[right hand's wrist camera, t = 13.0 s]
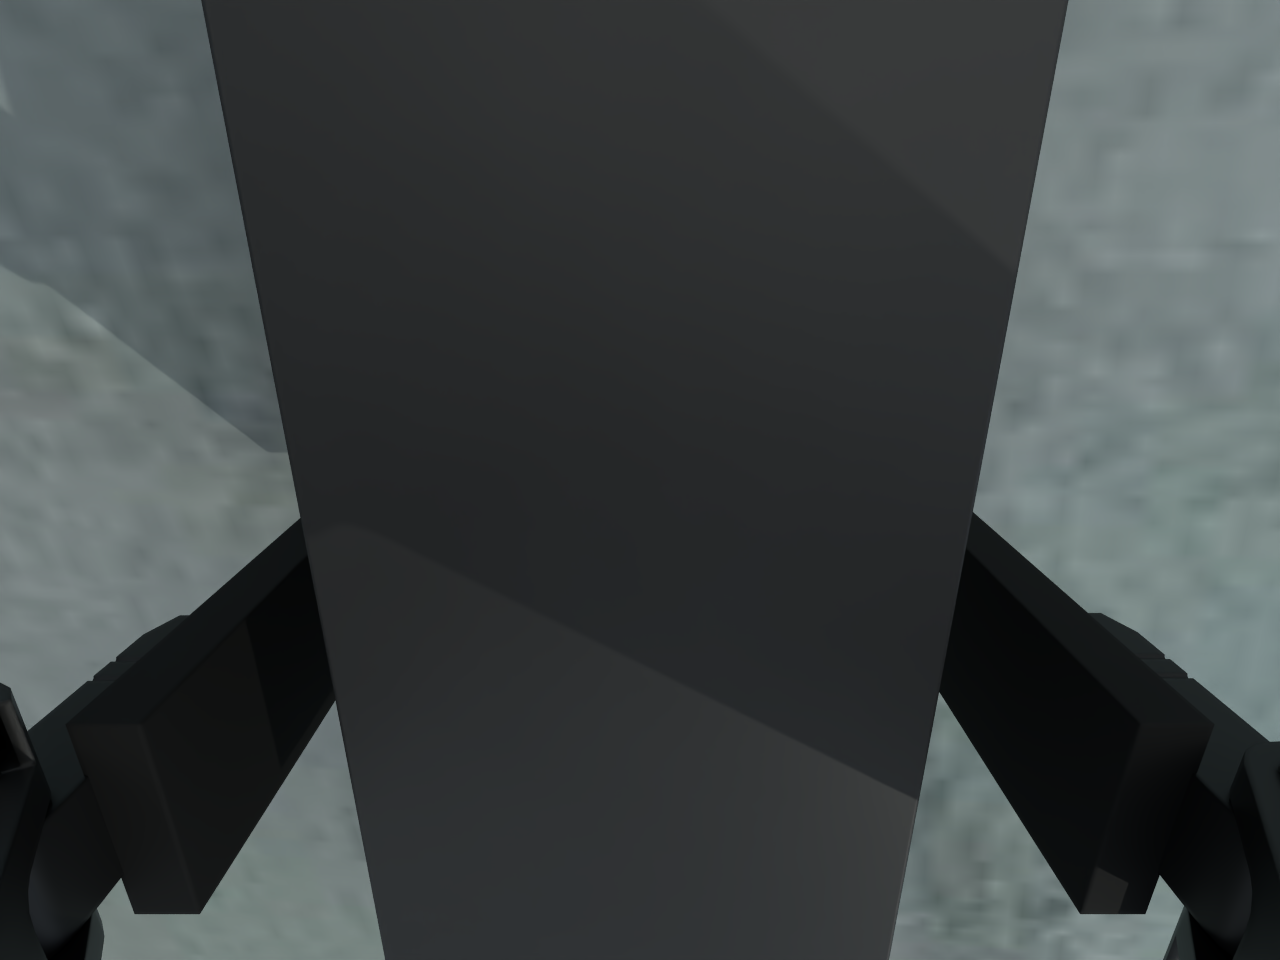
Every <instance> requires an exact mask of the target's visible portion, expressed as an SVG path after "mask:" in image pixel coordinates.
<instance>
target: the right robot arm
mask: <svg viewBox="0 0 1280 960" xmlns="http://www.w3.org/2000/svg"><path fill="white" fill-rule="evenodd" d="M939 692H940V694H941V695H942V697H943V698H944V700H945V702H946V703H947V705H948V706H949V708H950V709H951V711H952V713H953V714H954V716H955V717H956V719H957V721H958V722H959V724H960V725H961V727H962V728H963V730H964V732H965V733H966V735H967V736H968V738H969V739H970V741H971V743H972V744H973V746H974V747H975V749H976V750H977V752H978V754H979V755H980V757H981V758H982V760H983V761H984V763H985V765H986V766H987V768H988V769H989V771H990V773H991V774H992V776H993V777H994V779H995V780H996V782H997V784H998V785H999V787H1000V788H1001V790H1002V791H1003V793H1004V795H1005V796H1006V798H1007V799H1008V801H1009V802H1010V804H1011V806H1012V807H1013V809H1014V810H1015V812H1016V814H1017V815H1018V817H1019V818H1020V820H1021V821H1022V823H1023V825H1024V826H1025V828H1026V829H1027V831H1028V832H1029V834H1030V836H1031V837H1032V839H1033V840H1034V842H1035V843H1036V845H1037V847H1038V848H1039V850H1040V851H1041V853H1042V855H1043V856H1044V858H1045V859H1046V861H1047V862H1048V864H1049V866H1050V867H1051V869H1052V870H1053V872H1054V873H1055V875H1056V877H1057V878H1058V880H1059V881H1060V883H1061V884H1062V886H1063V888H1064V889H1065V891H1066V892H1067V894H1068V896H1069V897H1070V899H1071V900H1072V902H1073V903H1074V905H1075V907H1076V908H1077V910H1078V911H1079V913H1080V914H1146V911H1147V908H1148V905H1149V903H1150V900H1151V897H1152V894H1153V892H1154V889H1155V886H1156V884H1157V881H1158V878H1159V875H1160V876H1161V877H1162V878H1163V879H1164V881H1165V882H1166V883H1167V885H1168V886H1169V887H1170V888H1171V890H1172V891H1173V892H1174V893H1175V895H1176V896H1177V897H1178V898H1179V900H1180V901H1181V902H1182V903H1183V905H1184V908H1183V910H1182V913H1181V915H1180V918H1179V921H1178V923H1177V926H1176V928H1175V931H1174V933H1173V936H1172V938H1171V941H1170V944H1169V946H1168V949H1167V951H1166V954H1165V956H1164V959H1163V960H1280V742H1269V741H1268V740H1267V739H1266V738H1265V737H1263V736H1262V735H1261V734H1260V733H1258V732H1257V731H1256V730H1255V729H1254V728H1252V727H1251V726H1250V725H1249V724H1248V723H1246V722H1245V721H1244V720H1243V719H1242V718H1240V717H1239V716H1238V715H1237V714H1236V713H1234V712H1233V711H1232V710H1231V709H1230V708H1228V707H1227V706H1226V705H1225V704H1223V703H1222V702H1221V701H1220V700H1219V699H1217V698H1216V697H1215V696H1214V695H1213V694H1211V693H1210V692H1209V691H1208V690H1207V689H1205V688H1204V687H1203V686H1202V685H1201V684H1199V683H1198V682H1197V681H1196V680H1195V679H1193V678H1188V677H1187V673H1186V672H1185V671H1184V670H1182V669H1181V668H1180V667H1179V666H1178V665H1176V664H1175V663H1174V662H1173V661H1172V660H1170V659H1165V657H1164V654H1163V653H1162V652H1161V651H1160V650H1158V649H1157V648H1156V647H1155V646H1154V645H1152V644H1151V643H1150V642H1149V641H1147V640H1146V639H1145V638H1144V637H1143V636H1141V635H1140V634H1139V633H1138V632H1136V631H1134V630H1132V629H1130V628H1128V627H1127V626H1125V625H1123V624H1121V623H1119V622H1117V621H1115V620H1113V619H1111V618H1109V617H1107V616H1105V615H1104V614H1102V613H1087V612H1086V611H1085V610H1084V609H1083V608H1082V607H1080V606H1079V605H1078V604H1077V603H1076V602H1075V601H1074V600H1072V599H1071V598H1070V597H1069V596H1068V595H1067V594H1066V593H1064V592H1063V591H1062V590H1061V589H1060V588H1059V587H1058V586H1057V585H1055V584H1054V583H1053V582H1052V581H1051V580H1050V579H1049V578H1047V577H1046V576H1045V575H1044V574H1043V573H1042V572H1041V571H1039V570H1038V569H1037V568H1036V567H1035V566H1034V565H1033V564H1031V563H1030V562H1029V561H1028V560H1027V559H1026V558H1025V557H1023V556H1022V555H1021V554H1020V553H1019V552H1018V551H1017V550H1016V549H1014V548H1013V547H1012V546H1011V545H1010V544H1009V543H1008V542H1006V541H1005V540H1004V539H1003V538H1002V537H1001V536H1000V535H998V534H997V533H996V532H995V531H994V530H993V529H992V528H990V527H989V526H988V525H987V524H986V523H985V522H984V521H982V520H981V519H980V518H979V517H978V516H977V515H976V514H974V513H972V518H971V523H970V529H969V534H968V539H967V545H966V550H965V555H964V561H963V566H962V571H961V577H960V582H959V588H958V593H957V598H956V604H955V609H954V614H953V620H952V625H951V630H950V636H949V641H948V646H947V652H946V657H945V662H944V668H943V673H942V678H941V684H940V689H939ZM334 702H335V694H334V689H333V684H332V679H331V674H330V668H329V663H328V658H327V653H326V647H325V642H324V637H323V632H322V627H321V621H320V616H319V611H318V606H317V601H316V595H315V590H314V585H313V580H312V575H311V569H310V564H309V559H308V554H307V548H306V543H305V538H304V533H303V528H302V522H301V518H300V519H299V520H298V521H296V522H295V523H294V524H293V525H292V526H291V527H290V528H288V529H287V530H286V531H285V532H284V533H283V534H282V535H280V536H279V537H278V538H277V539H276V540H275V541H274V542H272V543H271V544H270V545H269V546H268V547H267V548H266V549H265V550H263V551H262V552H261V553H260V554H259V555H258V556H257V557H255V558H254V559H253V560H252V561H251V562H250V563H249V564H247V565H246V566H245V567H244V568H243V569H242V570H241V571H239V572H238V573H237V574H236V575H235V576H234V577H233V578H231V579H230V580H229V581H228V582H227V583H226V584H225V585H223V586H222V587H221V588H220V589H219V590H218V591H217V592H216V593H214V594H213V595H212V596H211V597H210V598H209V599H208V600H206V601H205V602H204V603H203V604H202V605H201V606H200V607H198V608H197V609H196V610H195V611H194V612H193V613H192V614H190V615H180V616H178V617H176V618H174V619H172V620H170V621H168V622H166V623H164V624H163V625H161V626H159V627H157V628H155V629H153V630H151V631H149V632H147V633H145V634H144V635H142V636H141V637H140V638H139V639H137V640H136V641H135V642H134V643H133V644H131V645H130V646H129V647H128V648H127V649H125V650H124V651H123V652H122V653H121V654H119V655H118V656H117V657H116V661H115V662H110V663H109V664H108V665H106V666H105V667H104V668H103V669H102V670H100V671H99V672H98V673H97V674H96V675H94V679H93V681H87V682H86V683H85V684H84V685H82V686H81V687H80V688H79V689H78V690H76V691H75V692H74V693H73V694H72V695H70V696H69V697H68V698H67V699H66V700H64V701H63V702H62V703H61V704H60V705H58V706H57V707H56V708H55V709H54V710H52V711H51V712H50V713H49V714H48V715H46V716H45V717H44V718H43V719H42V720H40V721H39V722H38V723H37V724H36V725H34V726H33V727H32V728H31V729H30V730H28V731H27V729H26V727H25V724H24V722H23V719H22V716H21V714H20V711H19V709H18V706H17V704H16V701H15V699H14V696H13V693H12V691H11V688H9V687H8V686H6V685H4V684H2V683H0V960H101V957H102V950H103V943H104V931H103V926H102V921H101V918H100V915H99V913H98V910H97V907H98V906H99V905H100V904H101V902H102V901H103V900H104V899H105V897H106V896H107V895H108V893H109V892H110V891H111V890H112V888H113V887H114V886H115V885H116V883H117V882H118V881H119V880H120V878H122V881H123V883H124V886H125V889H126V892H127V894H128V897H129V900H130V903H131V905H132V908H133V911H134V914H200V913H201V911H202V910H203V908H204V907H205V905H206V903H207V902H208V900H209V899H210V897H211V896H212V894H213V892H214V891H215V889H216V888H217V886H218V885H219V883H220V881H221V880H222V878H223V877H224V875H225V873H226V872H227V870H228V869H229V867H230V866H231V864H232V862H233V861H234V859H235V858H236V856H237V855H238V853H239V851H240V850H241V848H242V847H243V845H244V844H245V842H246V840H247V839H248V837H249V836H250V834H251V832H252V831H253V829H254V828H255V826H256V825H257V823H258V821H259V820H260V818H261V817H262V815H263V814H264V812H265V810H266V809H267V807H268V806H269V804H270V803H271V801H272V799H273V798H274V796H275V795H276V793H277V791H278V790H279V788H280V787H281V785H282V784H283V782H284V780H285V779H286V777H287V776H288V774H289V773H290V771H291V769H292V768H293V766H294V765H295V763H296V762H297V760H298V758H299V757H300V755H301V754H302V752H303V750H304V749H305V747H306V746H307V744H308V743H309V741H310V739H311V738H312V736H313V735H314V733H315V732H316V730H317V728H318V727H319V725H320V724H321V722H322V721H323V719H324V717H325V716H326V714H327V713H328V711H329V709H330V708H331V706H332V705H333V703H334Z"/></svg>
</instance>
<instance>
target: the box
mask: <svg viewBox="0 0 1280 960" xmlns="http://www.w3.org/2000/svg"><path fill="white" fill-rule="evenodd" d="M201 1H202V6H203V11H204V17H205V22H206V27H207V32H208V37H209V43H210V48H211V53H212V58H213V64H214V69H215V74H216V79H217V84H218V90H219V95H220V100H221V105H222V110H223V116H224V121H225V126H226V131H227V136H228V142H229V147H230V152H231V157H232V163H233V168H234V173H235V178H236V183H237V189H238V194H239V199H240V204H241V210H242V215H243V220H244V225H245V230H246V236H247V241H248V246H249V251H250V256H251V262H252V267H253V272H254V277H255V282H256V288H257V293H258V298H259V303H260V309H261V314H262V319H263V324H264V329H265V335H266V340H267V345H268V350H269V356H270V361H271V366H272V371H273V376H274V382H275V387H276V392H277V397H278V402H279V408H280V413H281V418H282V423H283V428H284V434H285V439H286V444H287V449H288V455H289V460H290V465H291V470H292V475H293V481H294V486H295V491H296V496H297V501H298V507H299V512H300V517H301V522H302V528H303V533H304V538H305V543H306V548H307V554H308V559H309V564H310V569H311V575H312V580H313V585H314V590H315V595H316V601H317V606H318V611H319V616H320V621H321V627H322V632H323V637H324V642H325V647H326V653H327V658H328V663H329V668H330V674H331V679H332V684H333V689H334V694H335V700H336V705H337V710H338V715H339V721H340V726H341V731H342V736H343V741H344V747H345V752H346V757H347V762H348V767H349V773H350V778H351V783H352V788H353V793H354V799H355V804H356V809H357V814H358V820H359V825H360V830H361V835H362V840H363V846H364V851H365V856H366V861H367V867H368V872H369V877H370V882H371V887H372V893H373V898H374V903H375V908H376V913H377V919H378V924H379V929H380V934H381V939H382V945H383V950H384V955H385V960H889V956H890V951H891V946H892V940H893V935H894V930H895V924H896V919H897V914H898V908H899V903H900V898H901V892H902V887H903V882H904V876H905V871H906V866H907V860H908V855H909V849H910V844H911V839H912V833H913V828H914V823H915V817H916V812H917V807H918V801H919V796H920V791H921V785H922V780H923V775H924V769H925V764H926V759H927V753H928V748H929V743H930V737H931V732H932V727H933V721H934V716H935V710H936V705H937V700H938V694H939V689H940V684H941V678H942V673H943V668H944V662H945V657H946V652H947V646H948V641H949V636H950V630H951V625H952V620H953V614H954V609H955V604H956V598H957V593H958V588H959V582H960V577H961V571H962V566H963V561H964V555H965V550H966V545H967V539H968V534H969V529H970V523H971V518H972V513H973V507H974V502H975V497H976V491H977V486H978V481H979V475H980V470H981V465H982V459H983V454H984V449H985V443H986V438H987V433H988V427H989V422H990V416H991V411H992V406H993V400H994V395H995V390H996V384H997V379H998V374H999V368H1000V363H1001V358H1002V352H1003V347H1004V342H1005V336H1006V331H1007V326H1008V320H1009V315H1010V310H1011V304H1012V299H1013V294H1014V288H1015V283H1016V277H1017V272H1018V267H1019V261H1020V256H1021V251H1022V245H1023V240H1024V235H1025V229H1026V224H1027V219H1028V213H1029V208H1030V203H1031V197H1032V192H1033V187H1034V181H1035V176H1036V171H1037V165H1038V160H1039V155H1040V149H1041V144H1042V138H1043V133H1044V128H1045V122H1046V117H1047V112H1048V106H1049V101H1050V96H1051V90H1052V85H1053V80H1054V74H1055V69H1056V64H1057V58H1058V53H1059V48H1060V42H1061V37H1062V32H1063V26H1064V21H1065V16H1066V10H1067V5H1068V0H201Z"/></svg>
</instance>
